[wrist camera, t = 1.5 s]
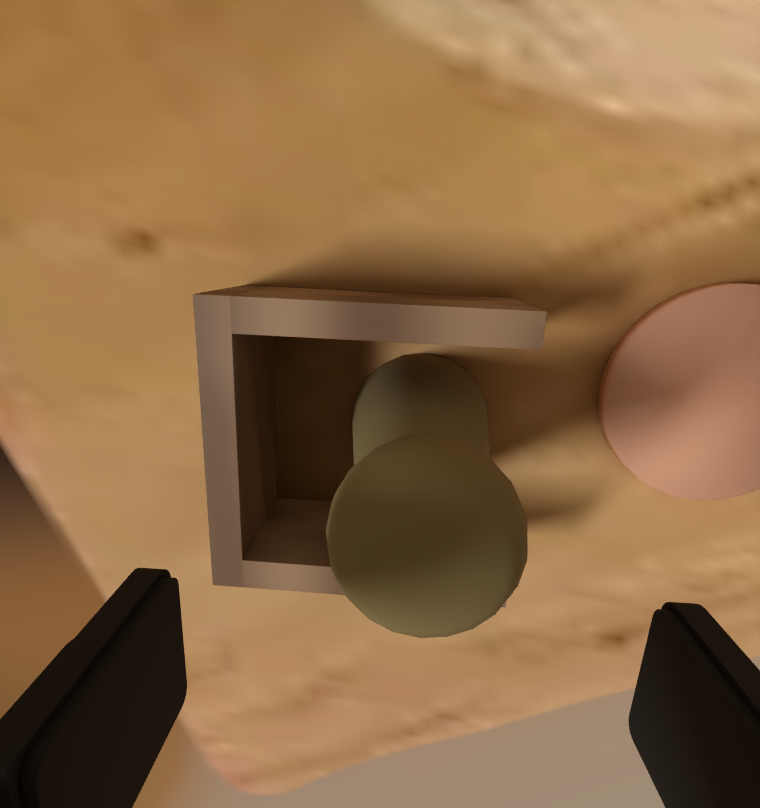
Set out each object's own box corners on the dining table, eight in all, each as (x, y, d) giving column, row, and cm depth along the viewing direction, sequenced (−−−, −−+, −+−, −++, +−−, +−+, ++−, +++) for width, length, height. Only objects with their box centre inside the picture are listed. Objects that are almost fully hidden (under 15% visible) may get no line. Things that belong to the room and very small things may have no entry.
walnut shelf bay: (514, 298, 20) (547, 311, 15) (485, 534, 23) (505, 607, 18) (244, 285, 20) (193, 294, 16) (253, 518, 24) (212, 584, 19)
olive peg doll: (500, 466, 22) (581, 658, 12) (371, 494, 23) (338, 696, 12) (472, 338, 20) (537, 424, 10) (335, 372, 21) (262, 486, 11)
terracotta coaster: (854, 288, 19) (878, 290, 18) (788, 496, 22) (805, 507, 21) (619, 277, 19) (629, 278, 18) (582, 482, 22) (589, 493, 21)
